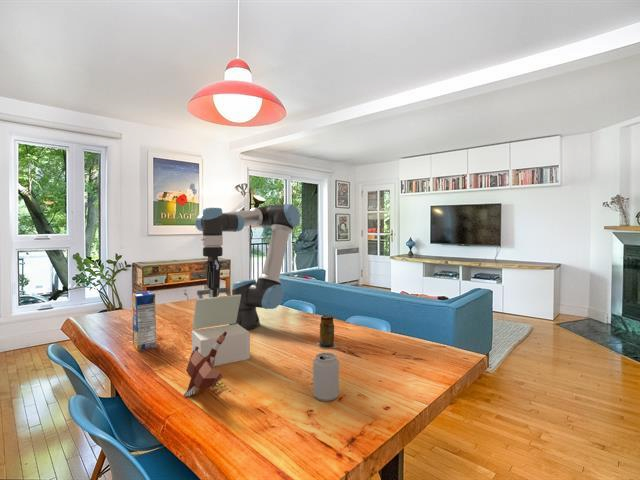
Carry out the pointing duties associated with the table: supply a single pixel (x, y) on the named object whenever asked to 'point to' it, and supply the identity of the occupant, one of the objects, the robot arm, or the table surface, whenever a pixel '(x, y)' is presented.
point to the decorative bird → (204, 369)
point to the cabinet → (230, 349)
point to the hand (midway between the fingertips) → (213, 304)
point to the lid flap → (215, 309)
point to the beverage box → (144, 320)
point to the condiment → (327, 333)
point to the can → (326, 376)
